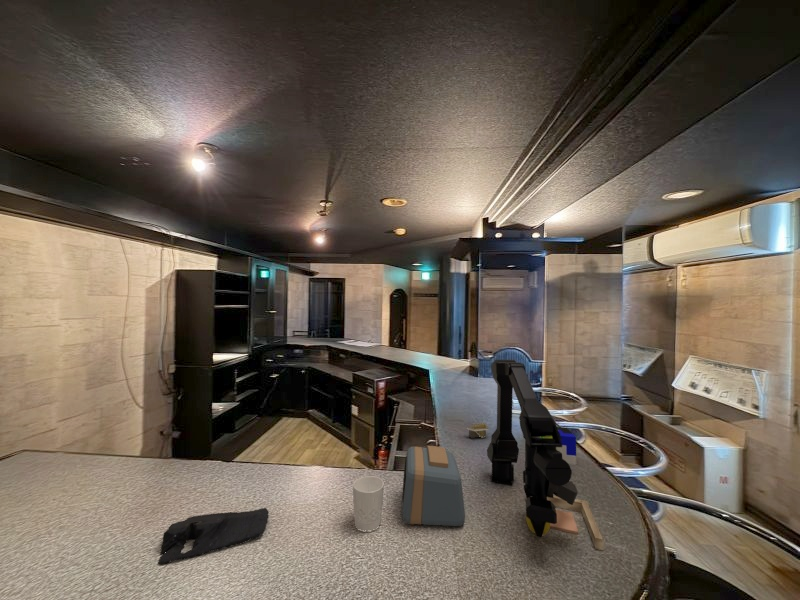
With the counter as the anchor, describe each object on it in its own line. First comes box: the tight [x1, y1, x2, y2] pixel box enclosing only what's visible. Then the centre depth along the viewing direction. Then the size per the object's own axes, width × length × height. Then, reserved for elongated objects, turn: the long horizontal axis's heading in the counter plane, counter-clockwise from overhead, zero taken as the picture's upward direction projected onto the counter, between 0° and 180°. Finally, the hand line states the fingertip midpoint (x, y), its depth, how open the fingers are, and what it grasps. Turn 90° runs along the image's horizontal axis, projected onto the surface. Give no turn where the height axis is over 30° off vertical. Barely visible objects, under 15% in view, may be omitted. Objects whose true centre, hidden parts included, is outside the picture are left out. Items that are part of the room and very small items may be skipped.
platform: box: [466, 423, 489, 439], centre depth 137 cm, size 12×18×7 cm, turn 102°
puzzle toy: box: [541, 426, 577, 466], centre depth 120 cm, size 10×10×10 cm
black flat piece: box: [157, 507, 269, 566], centre depth 75 cm, size 15×22×5 cm
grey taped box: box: [401, 445, 466, 527], centre depth 86 cm, size 16×16×16 cm
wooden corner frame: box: [525, 494, 604, 551], centre depth 82 cm, size 16×16×2 cm
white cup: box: [352, 475, 385, 531], centre depth 79 cm, size 8×8×10 cm
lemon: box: [525, 516, 551, 536], centre depth 76 cm, size 6×6×8 cm
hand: (538, 528), depth 76 cm, fingers closed on lemon, 5 cm apart
